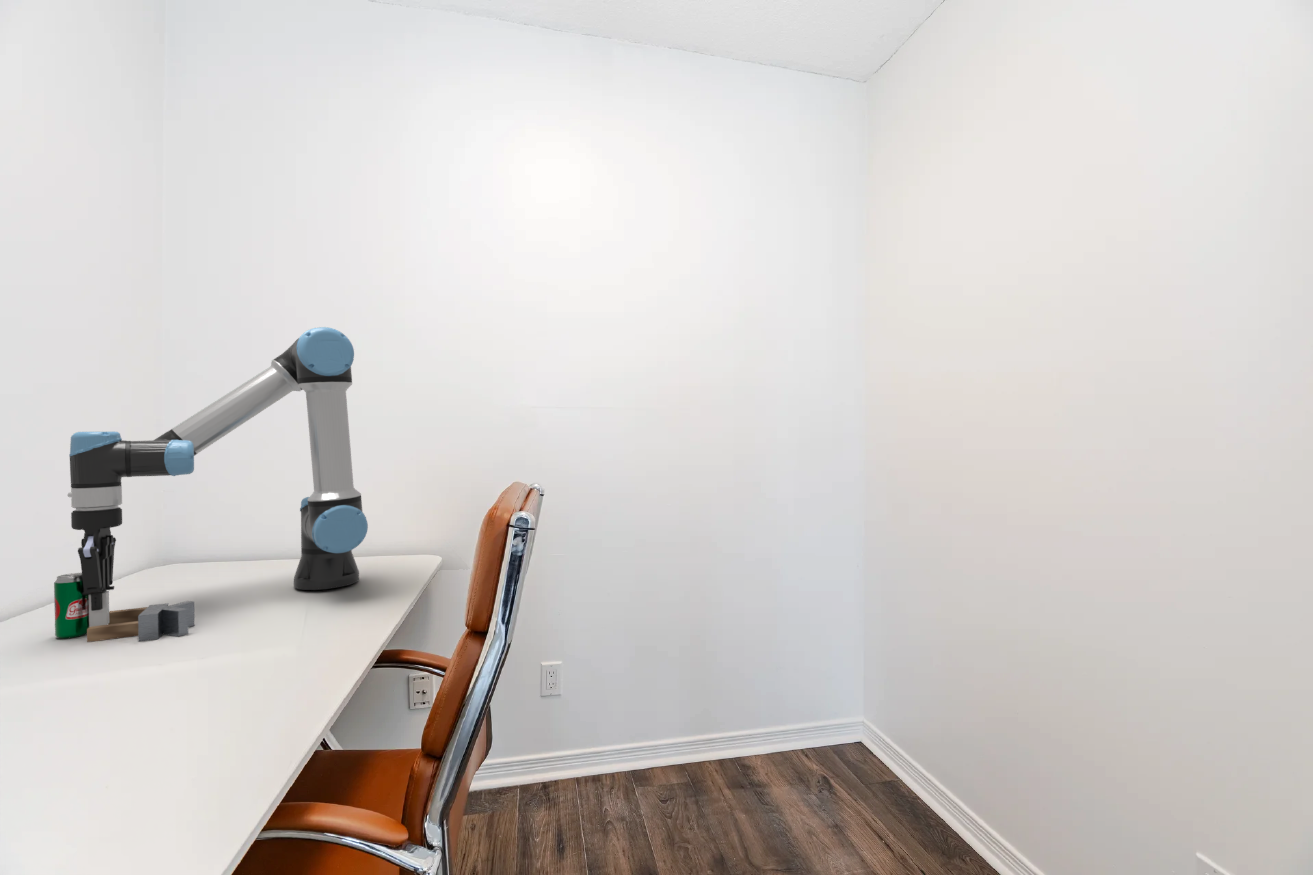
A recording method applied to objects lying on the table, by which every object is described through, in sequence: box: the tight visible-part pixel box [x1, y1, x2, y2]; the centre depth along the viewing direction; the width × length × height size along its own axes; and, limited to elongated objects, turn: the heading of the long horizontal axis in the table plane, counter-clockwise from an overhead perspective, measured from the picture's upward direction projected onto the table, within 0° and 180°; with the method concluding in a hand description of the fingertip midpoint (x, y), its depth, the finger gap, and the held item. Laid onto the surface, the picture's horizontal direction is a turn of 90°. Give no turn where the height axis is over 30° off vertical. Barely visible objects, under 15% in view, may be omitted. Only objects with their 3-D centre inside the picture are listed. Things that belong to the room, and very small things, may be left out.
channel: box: [86, 606, 148, 643], centre depth 124 cm, size 8×13×2 cm, turn 28°
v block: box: [137, 600, 195, 642], centre depth 121 cm, size 8×8×5 cm
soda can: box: [53, 572, 89, 640], centre depth 120 cm, size 5×5×12 cm
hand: (99, 624), depth 122 cm, fingers closed, pressing on soda can
